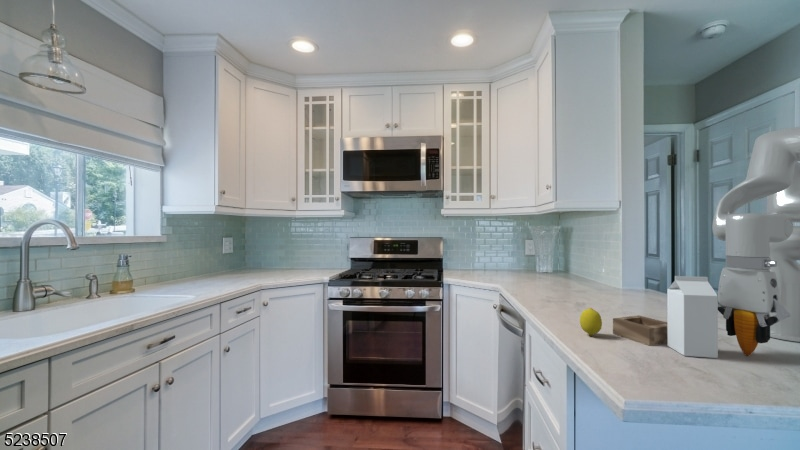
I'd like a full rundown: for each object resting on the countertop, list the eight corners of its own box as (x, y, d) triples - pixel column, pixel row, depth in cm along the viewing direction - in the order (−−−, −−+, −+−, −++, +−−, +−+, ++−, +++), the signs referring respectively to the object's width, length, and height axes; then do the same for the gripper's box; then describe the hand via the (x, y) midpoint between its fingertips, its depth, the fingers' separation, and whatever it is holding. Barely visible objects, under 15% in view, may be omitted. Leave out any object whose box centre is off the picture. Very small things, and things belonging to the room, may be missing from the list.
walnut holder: (639, 330, 103) (639, 315, 103) (677, 341, 93) (677, 325, 93) (612, 333, 100) (612, 318, 100) (649, 345, 90) (649, 328, 90)
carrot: (753, 353, 84) (753, 293, 84) (767, 361, 80) (767, 297, 80) (728, 351, 86) (728, 291, 86) (740, 358, 81) (740, 295, 81)
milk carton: (718, 358, 81) (717, 279, 81) (684, 356, 82) (683, 278, 83) (698, 348, 88) (698, 274, 88) (667, 346, 89) (667, 274, 90)
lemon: (602, 334, 99) (602, 307, 99) (601, 340, 94) (601, 311, 94) (580, 331, 102) (580, 304, 102) (579, 336, 97) (579, 308, 97)
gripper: (806, 267, 76) (806, 348, 76) (715, 260, 92) (715, 327, 92) (786, 268, 74) (787, 352, 73) (696, 261, 90) (696, 330, 90)
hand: (747, 337), depth 83 cm, fingers closed on carrot, 4 cm apart
